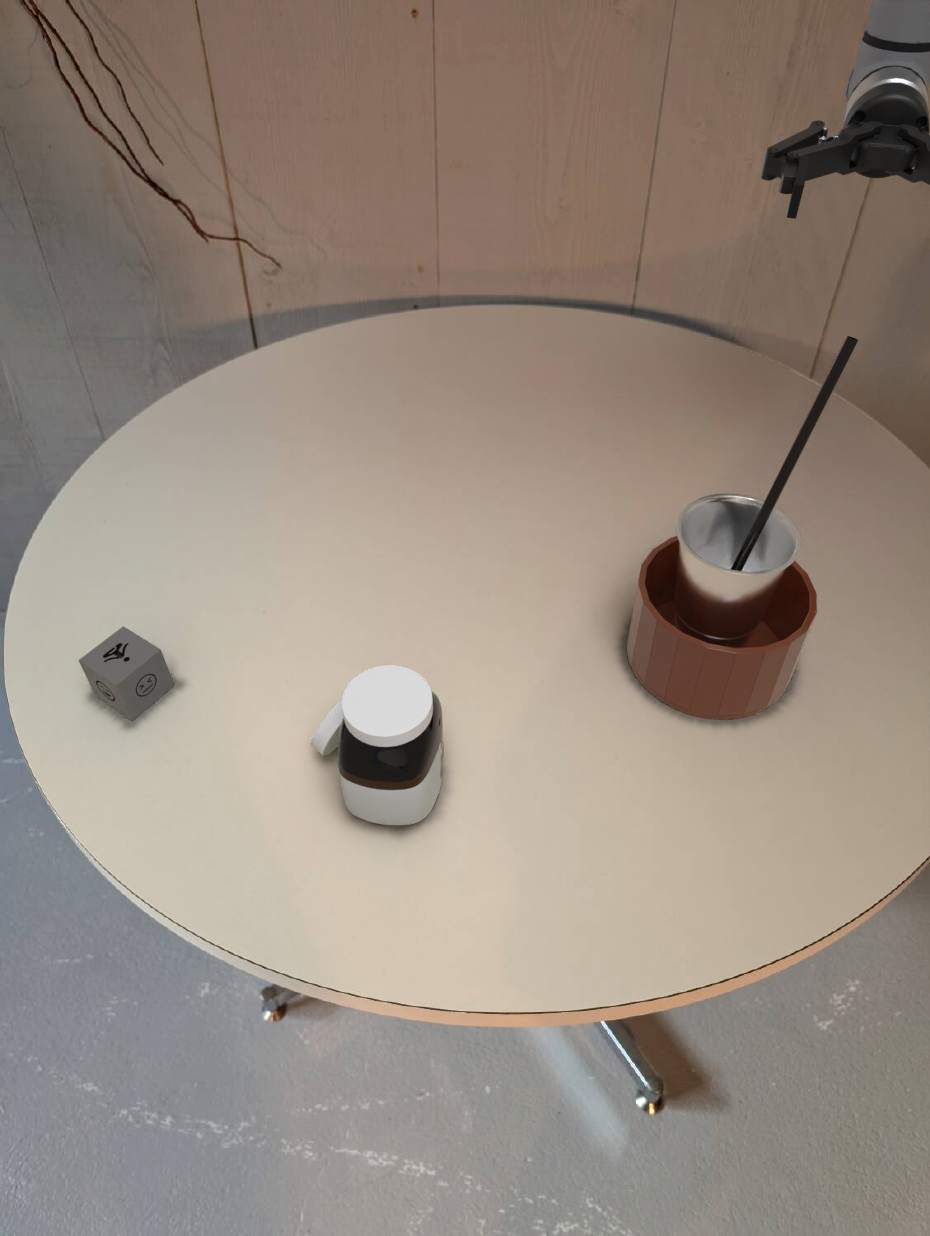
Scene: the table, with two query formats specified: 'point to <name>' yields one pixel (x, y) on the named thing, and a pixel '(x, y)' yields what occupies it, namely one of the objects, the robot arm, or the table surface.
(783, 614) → the crock
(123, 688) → the dice cube
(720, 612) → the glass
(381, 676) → the spread jar
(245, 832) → the table surface
